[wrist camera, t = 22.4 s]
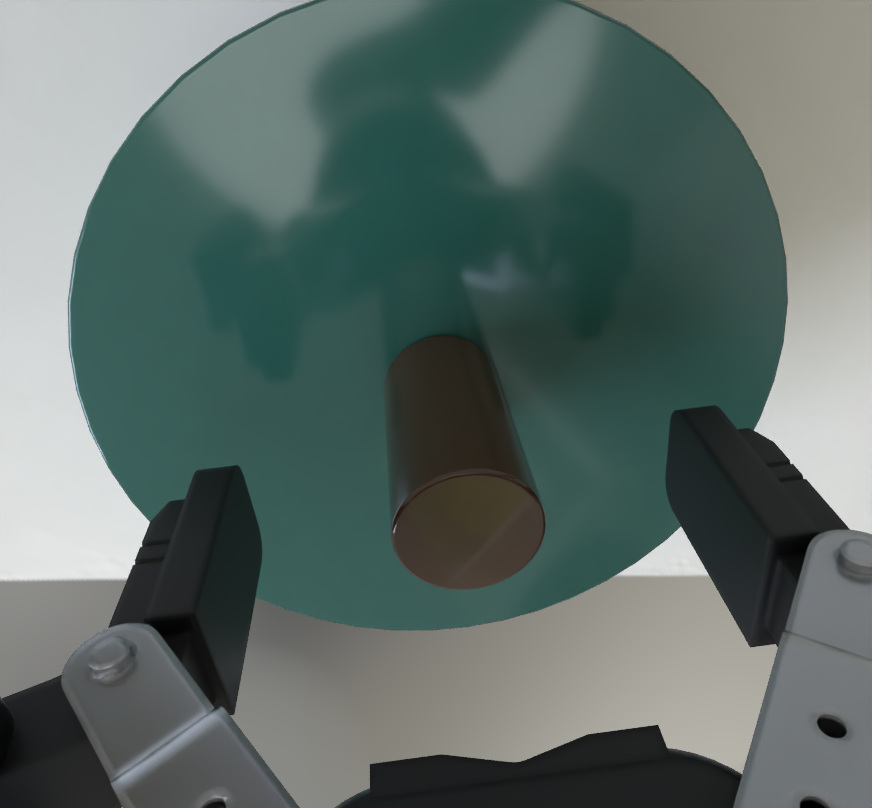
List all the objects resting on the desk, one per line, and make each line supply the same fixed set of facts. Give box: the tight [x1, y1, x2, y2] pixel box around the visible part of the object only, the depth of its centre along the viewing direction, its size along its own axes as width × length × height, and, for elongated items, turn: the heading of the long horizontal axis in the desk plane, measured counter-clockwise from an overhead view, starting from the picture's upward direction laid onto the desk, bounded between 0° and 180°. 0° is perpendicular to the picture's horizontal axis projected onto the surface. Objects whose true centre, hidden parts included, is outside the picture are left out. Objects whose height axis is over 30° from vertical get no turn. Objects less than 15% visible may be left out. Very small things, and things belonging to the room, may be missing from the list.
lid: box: [68, 0, 788, 630], centre depth 14 cm, size 16×16×6 cm
